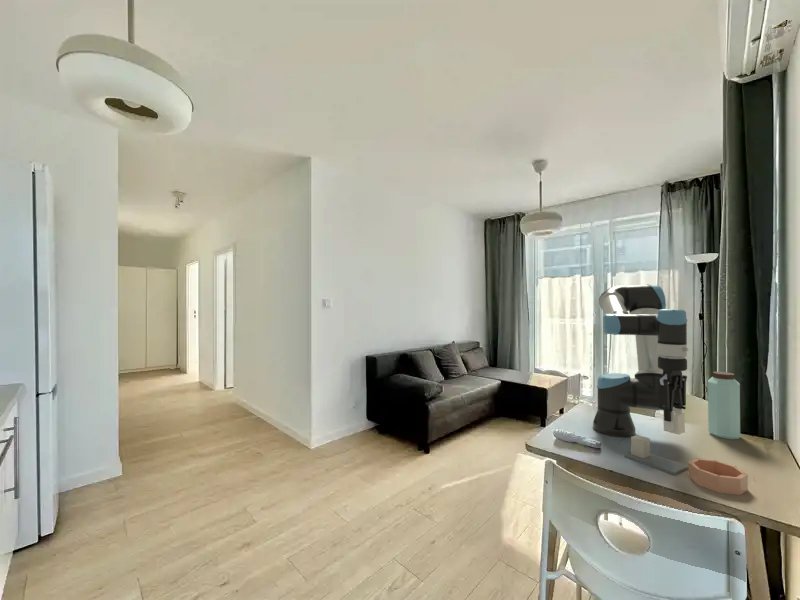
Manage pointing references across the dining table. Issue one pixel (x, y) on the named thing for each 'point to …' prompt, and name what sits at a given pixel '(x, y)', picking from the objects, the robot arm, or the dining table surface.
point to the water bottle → (724, 406)
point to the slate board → (659, 463)
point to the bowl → (718, 476)
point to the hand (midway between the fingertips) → (672, 429)
